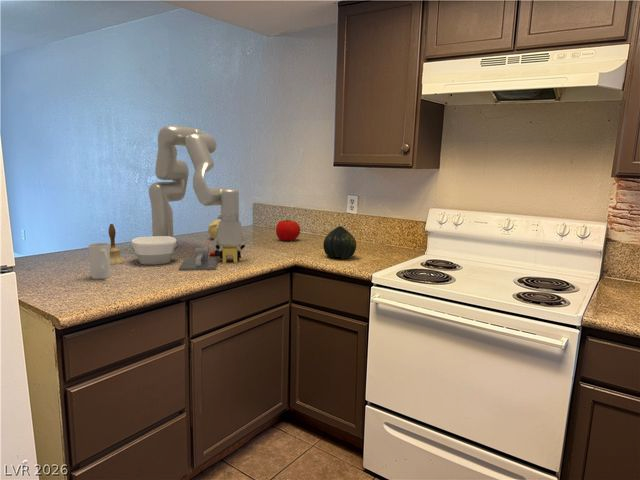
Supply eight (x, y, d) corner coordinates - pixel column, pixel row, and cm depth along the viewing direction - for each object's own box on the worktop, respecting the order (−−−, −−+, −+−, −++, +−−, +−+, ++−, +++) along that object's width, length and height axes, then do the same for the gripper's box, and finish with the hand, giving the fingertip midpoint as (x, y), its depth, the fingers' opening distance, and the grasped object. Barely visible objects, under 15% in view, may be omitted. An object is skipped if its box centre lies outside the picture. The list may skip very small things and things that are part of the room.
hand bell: (101, 265, 180) (98, 225, 177) (105, 260, 188) (102, 222, 185) (123, 264, 182) (121, 225, 180) (126, 259, 190) (124, 222, 187)
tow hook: (215, 252, 211) (207, 255, 202) (215, 225, 210) (208, 227, 201) (232, 254, 210) (225, 257, 201) (233, 226, 209) (226, 228, 199)
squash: (338, 251, 194) (352, 223, 199) (312, 247, 204) (327, 220, 209) (353, 268, 203) (366, 241, 208) (328, 264, 213) (341, 238, 218)
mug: (87, 276, 162) (85, 244, 160) (107, 273, 167) (105, 242, 165) (97, 282, 155) (95, 248, 153) (117, 279, 160) (115, 246, 158)
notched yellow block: (222, 263, 189) (222, 249, 188) (223, 259, 197) (223, 245, 196) (237, 263, 190) (237, 249, 189) (237, 258, 198) (237, 245, 197)
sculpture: (209, 237, 250) (209, 218, 248) (231, 237, 251) (231, 218, 249) (206, 241, 238) (206, 220, 237) (229, 241, 240) (229, 221, 238)
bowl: (131, 258, 193) (130, 237, 191) (175, 256, 200) (174, 235, 198) (132, 267, 177) (131, 244, 175) (179, 264, 184) (178, 242, 182)
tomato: (278, 238, 253) (278, 217, 251) (301, 239, 252) (302, 218, 250) (273, 241, 241) (273, 220, 239) (297, 243, 240) (298, 221, 238)
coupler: (178, 270, 175) (178, 257, 174) (185, 260, 192) (185, 248, 191) (215, 270, 177) (215, 257, 176) (218, 259, 195) (218, 248, 194)
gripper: (208, 219, 185) (209, 261, 188) (250, 219, 188) (250, 261, 191) (209, 217, 192) (210, 258, 196) (250, 217, 195) (250, 257, 198)
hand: (230, 259), depth 193 cm, fingers closed on notched yellow block, 6 cm apart
